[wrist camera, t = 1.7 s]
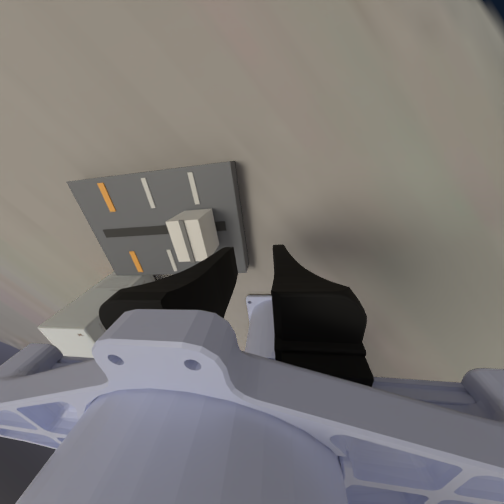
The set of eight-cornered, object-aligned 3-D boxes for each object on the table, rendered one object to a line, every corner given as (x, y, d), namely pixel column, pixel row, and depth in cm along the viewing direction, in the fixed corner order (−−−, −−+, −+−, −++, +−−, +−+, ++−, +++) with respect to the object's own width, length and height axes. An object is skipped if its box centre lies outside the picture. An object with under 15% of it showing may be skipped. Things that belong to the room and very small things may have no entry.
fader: (219, 244, 20) (207, 262, 17) (194, 246, 21) (178, 263, 17) (211, 208, 18) (197, 219, 15) (184, 210, 19) (164, 221, 16)
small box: (117, 267, 27) (33, 326, 18) (151, 267, 26) (82, 328, 17) (137, 308, 31) (76, 374, 21) (168, 309, 30) (118, 378, 20)
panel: (248, 263, 24) (246, 273, 22) (127, 267, 27) (116, 275, 25) (234, 160, 18) (229, 161, 16) (84, 179, 21) (65, 181, 19)
